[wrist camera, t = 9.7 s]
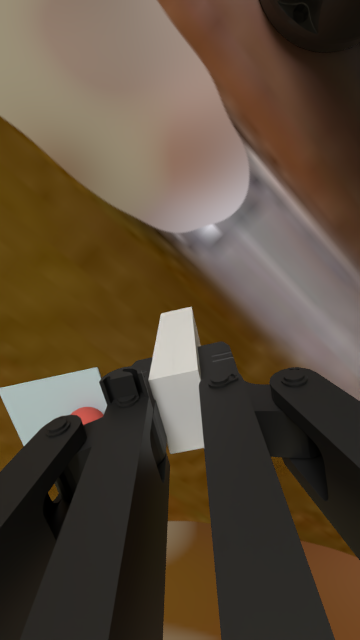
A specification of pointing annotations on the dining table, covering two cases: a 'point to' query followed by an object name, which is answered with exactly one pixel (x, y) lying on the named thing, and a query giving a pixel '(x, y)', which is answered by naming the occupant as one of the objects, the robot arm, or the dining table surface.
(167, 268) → the dining table surface
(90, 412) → the red ball
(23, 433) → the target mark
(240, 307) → the dining table surface
